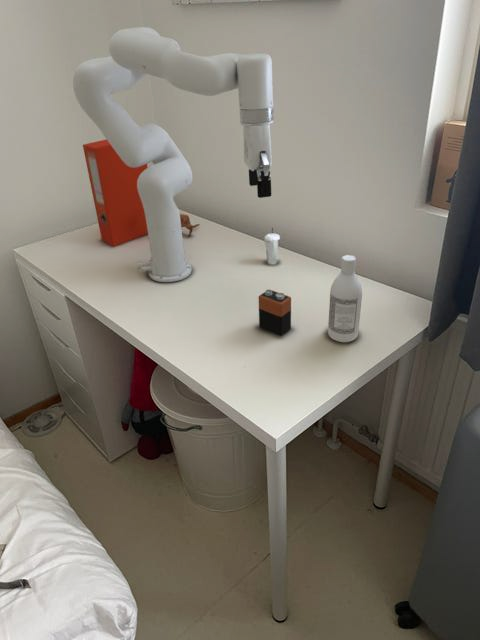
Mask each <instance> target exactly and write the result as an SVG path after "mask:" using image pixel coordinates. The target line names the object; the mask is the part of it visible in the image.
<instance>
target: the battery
mask: <svg viewBox="0 0 480 640" xmlns="http://www.w3.org/2000/svg"><path fill="white" fill-rule="evenodd" d="M258 325H259V326H258V327H259V328H260V329H262V330H264V331H266V332H269V333H271V334H274V335H277V336H279V337H282V336H284V335H285V334H286V333H287V332H289V331H290V330H291V329H292V296H289V295H287V294H285V293H284V292H278V291H276V290H274V289H273V290H272V289H271V288H270V289H265V291H263V293H261V294H259V295H258Z"/></svg>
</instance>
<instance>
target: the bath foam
mask: <svg viewBox="0 0 480 640" xmlns="http://www.w3.org/2000/svg"><path fill="white" fill-rule="evenodd" d="M356 260H357V258H356V256H355V255H351V254H346V255H343V256H342V257H341V265H340V272H339V274H337V276H336V277H335V279H334V280H333V282H332V283H331V287H330V290H329V291H330V293H329V309H328V322H327V323H328V324H327V334H328V336H329V337H330V338H331V339H332V340H333V341H336V342H340V343H349V342H353V341H354V340H356V339H357V338H358V336H359V329H360V318H361V309H362V299H363V286H362V283H361V280H360V279H359V277H358V276H357V274H356V272H355V271H356V263H357V262H356Z"/></svg>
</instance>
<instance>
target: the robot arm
mask: <svg viewBox="0 0 480 640" xmlns="http://www.w3.org/2000/svg"><path fill="white" fill-rule="evenodd" d="M108 50H109V55H110V56H103V57H102V56H101V57H96V58H92V59H88V60H85V61H83V62H82V63H80V64H79V65H78V66H77V67H76V68H75V70H74V72H73V77H72V87H73V92H74V96H75V98H76V100H77V103H78V105H79V106H80V108H81V109H82V111H83V112H84V113H85V115H87V116H88V117H89V119H90V120H91V121H92V122H93V124H95V125H96V127H97V128H98V130H99V131H100V132H101V133H102V135H103V136H104V138H105V140H106V139H107V140H108V142H109V143H110V144H111V146H112V147H113V149H114V150H115V151H116V153H117V154H118V156H119V157H120V158H121V160H122V161H123V162H124V163H125V164H126V165H127V166H129V167H132V168H136V167H140V166H143V165H145V164H147V165H148V164H150V163H153V165H151V166H148V168H147V169H145V170H144V171H143V172H142V173H141V174H140V176H139V178H138V180H137V189H138V193H139V196H140V198H141V201H142V204H143V208H144V212H145V218H146V224H147V230H148V234H147V235H148V242H149V243H148V244H149V248H150V254H151V256H150V259H148V260H147V261H138V262H137V263H136V265H137V269H138V270H141V272H147V271H148V277H149V278H150V279H151V280H153V281H155V282H159V283H173V282H179V281H182V280H184V279H186V278H188V277H189V276H190V275H191V274H192V266H191V264H190V263H188V262H187V261H186V257H185V248H184V247H185V246H184V238H183V229H182V228H183V227H182V228H181V220H180V214H181V213H180V210H179V208H178V206H177V205H176V203H175V201H174V200H175V199H174V197H176V196H177V195H178V194H180V193H182V192H183V191H185V190H187V189H188V188H189V187H190V186H191V184H192V183H193V171H192V168H191V165H190V164H189V162H188V160H187V159H186V158H185V156H184V155H183V154H182V152H181V150H180V149H179V147H178V146H177V145H176V143H175V141H174V140H173V139H172V138H171V136H170V135H169V133H168V132H167V131H166V130H165V129H164V128H162V127H161V126H160V125H158V124H155V123H144V124H142V125H138V124H137V123H136V122H135V121H134V120H133V118H132V117H131V115H130V114H129V112H128V111H127V110H126V109H125V108H124V107H123V106H122V105H121V104H119V103H118V102H117V101H115V100H114V99H112V98H111V97H110V95H113V94H117V93H121V92H124V91H128V90H130V89H133V88H134V87H135V86H136V85H137V84H138V83H139V82H141V81H142V80H143V79H144V78H145V77H146V76H147V75H149V76H152V77H155V78H160V79H164V80H165V81H167V82H168V83H169V84H171V85H172V86H173V87H175V88H177V89H179V90H181V91H186V92H190V93H193V94H197V95H201V96H206V97H207V96H208V97H212V96H217V95H218V96H219V95H220V94H223V93H226V92H230V91H234V90H237V91H238V105H239V120H240V121H239V122H240V123H239V124H240V125H241V126H243V161H244V164H245V166H247V168H248V184H249V186H250V187H254V186H255V187H256V190H257V198H258V199H262V198H270V197H271V196H272V177H271V176H272V175H271V171H270V170H271V168H272V165H273V163H272V162H273V161H272V159H273V156H272V138H271V134H272V133H271V124H273V123H275V119H274V118H275V117H274V87H273V85H274V84H273V60H272V57H271V56H270V54H267V53H261V52H260V53H259V52H258V53H257V52H256V53H246V54H241V53H234V52H225V53H219V54H215V55H209V56H202V55H197V54H193V53H189V52H185V51H182V50H181V47H180V44H179V43H178V42H177V40H175V39H173V38H171V37H165V36H163V35H162V36H161V34H159V32H158V31H156V30H155V29H154V28H152V27H149V26H139V27H128V28H122V29H120V30H117V31H116V32H115V33H114V34H113V35H112V37H111V38H110V40H109V46H108Z"/></svg>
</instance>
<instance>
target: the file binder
mask: <svg viewBox="0 0 480 640" xmlns="http://www.w3.org/2000/svg"><path fill="white" fill-rule="evenodd" d="M82 148H83V153H84V159H85V163H86V168H87V174H88V178H89V183H90V188H91V193H92V198H93V203H94V209H95V214H96V218H97V224H98V227H99V228H98V229H99V233H100V238H101V241H102V242H104V243H106V244H108V245H110V246H112V247H117V246H118V245H122V244H124V243H127V242H131V241H132V240H135V239H138V238H142V237H144V236H147V235H148V230H147V224H146V218H145V212H144V208H143V204H142V201H141V198H140V196H139V193H138V189H137V180H138V178H139V176H140V174H141V173H142V172H143V171H144V170H145V169H147V168H149V166H148V163H147V164H145V165H143V166H140V167H136V168H132V167H129V166H127V165H126V164H125V163H124V162H123V161H122V160H121V158H120V157H119V156H118V154H117V153H116V151H115V150H114V149H113V147H112V146H111V144H110V143H109V142H108V140H107V139H106V138H105V139H102V140H97V141H93V142H88V143H83V144H82Z"/></svg>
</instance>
